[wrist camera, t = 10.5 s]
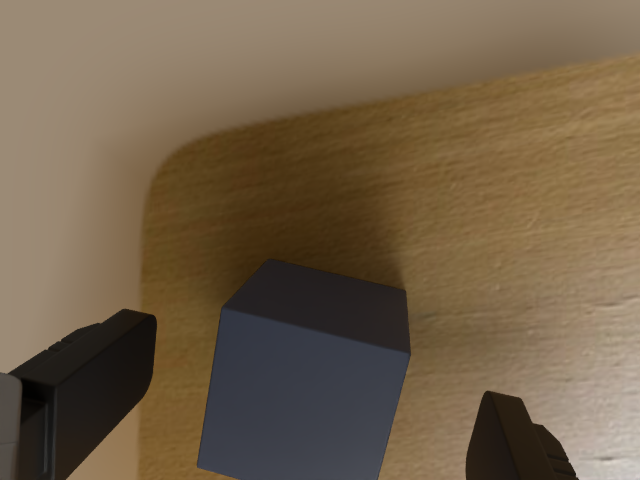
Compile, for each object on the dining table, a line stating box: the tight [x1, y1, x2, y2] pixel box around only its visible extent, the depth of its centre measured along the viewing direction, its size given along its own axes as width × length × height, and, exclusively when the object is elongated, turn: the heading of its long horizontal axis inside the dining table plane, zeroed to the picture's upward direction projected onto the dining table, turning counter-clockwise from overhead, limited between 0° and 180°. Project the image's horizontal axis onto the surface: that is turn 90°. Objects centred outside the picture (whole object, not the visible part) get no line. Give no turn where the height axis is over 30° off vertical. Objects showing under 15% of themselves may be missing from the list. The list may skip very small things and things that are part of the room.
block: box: [197, 259, 411, 480], centre depth 14 cm, size 5×5×5 cm
